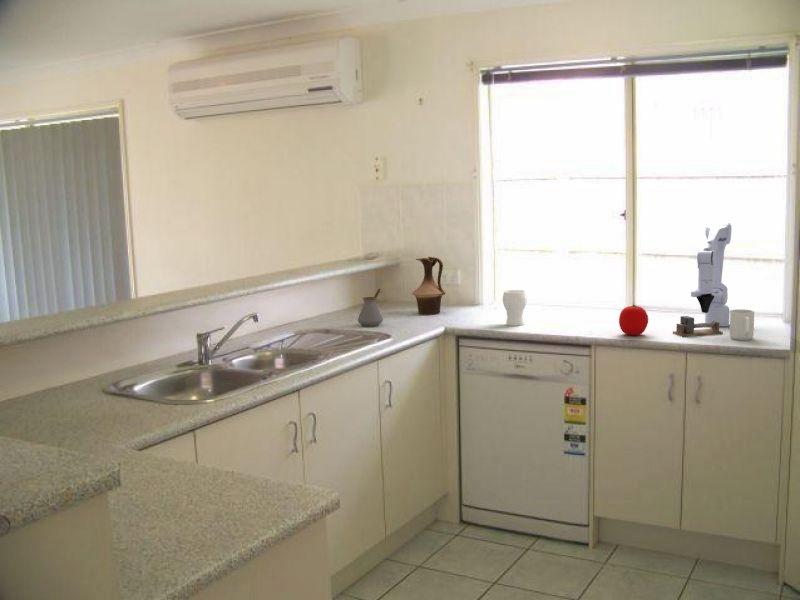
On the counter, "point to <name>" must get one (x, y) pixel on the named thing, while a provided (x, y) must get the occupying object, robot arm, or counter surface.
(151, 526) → the counter surface
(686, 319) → the collar
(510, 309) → the cup
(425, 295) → the pitcher
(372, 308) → the coffee pot
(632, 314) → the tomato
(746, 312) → the mug
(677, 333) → the towel rail
